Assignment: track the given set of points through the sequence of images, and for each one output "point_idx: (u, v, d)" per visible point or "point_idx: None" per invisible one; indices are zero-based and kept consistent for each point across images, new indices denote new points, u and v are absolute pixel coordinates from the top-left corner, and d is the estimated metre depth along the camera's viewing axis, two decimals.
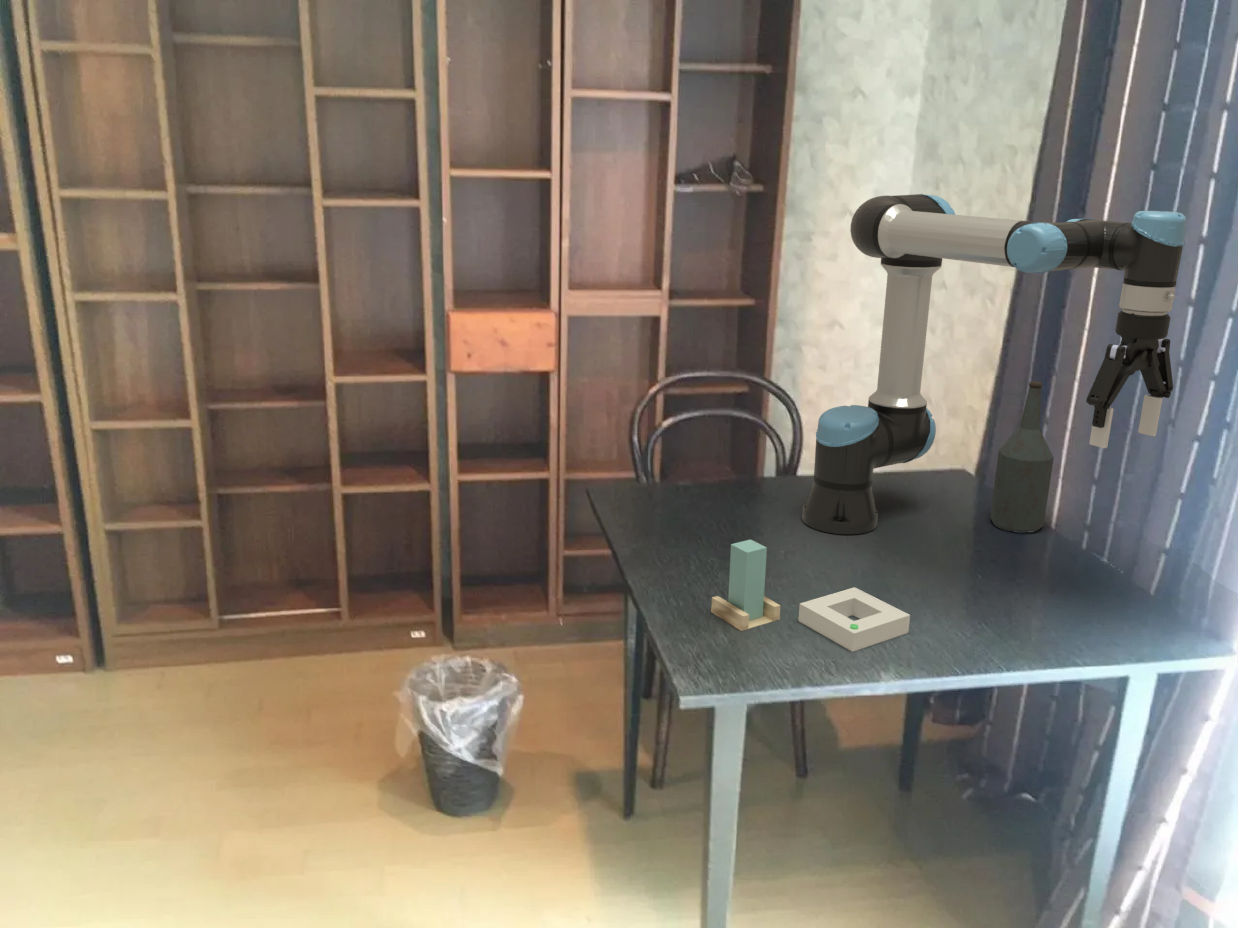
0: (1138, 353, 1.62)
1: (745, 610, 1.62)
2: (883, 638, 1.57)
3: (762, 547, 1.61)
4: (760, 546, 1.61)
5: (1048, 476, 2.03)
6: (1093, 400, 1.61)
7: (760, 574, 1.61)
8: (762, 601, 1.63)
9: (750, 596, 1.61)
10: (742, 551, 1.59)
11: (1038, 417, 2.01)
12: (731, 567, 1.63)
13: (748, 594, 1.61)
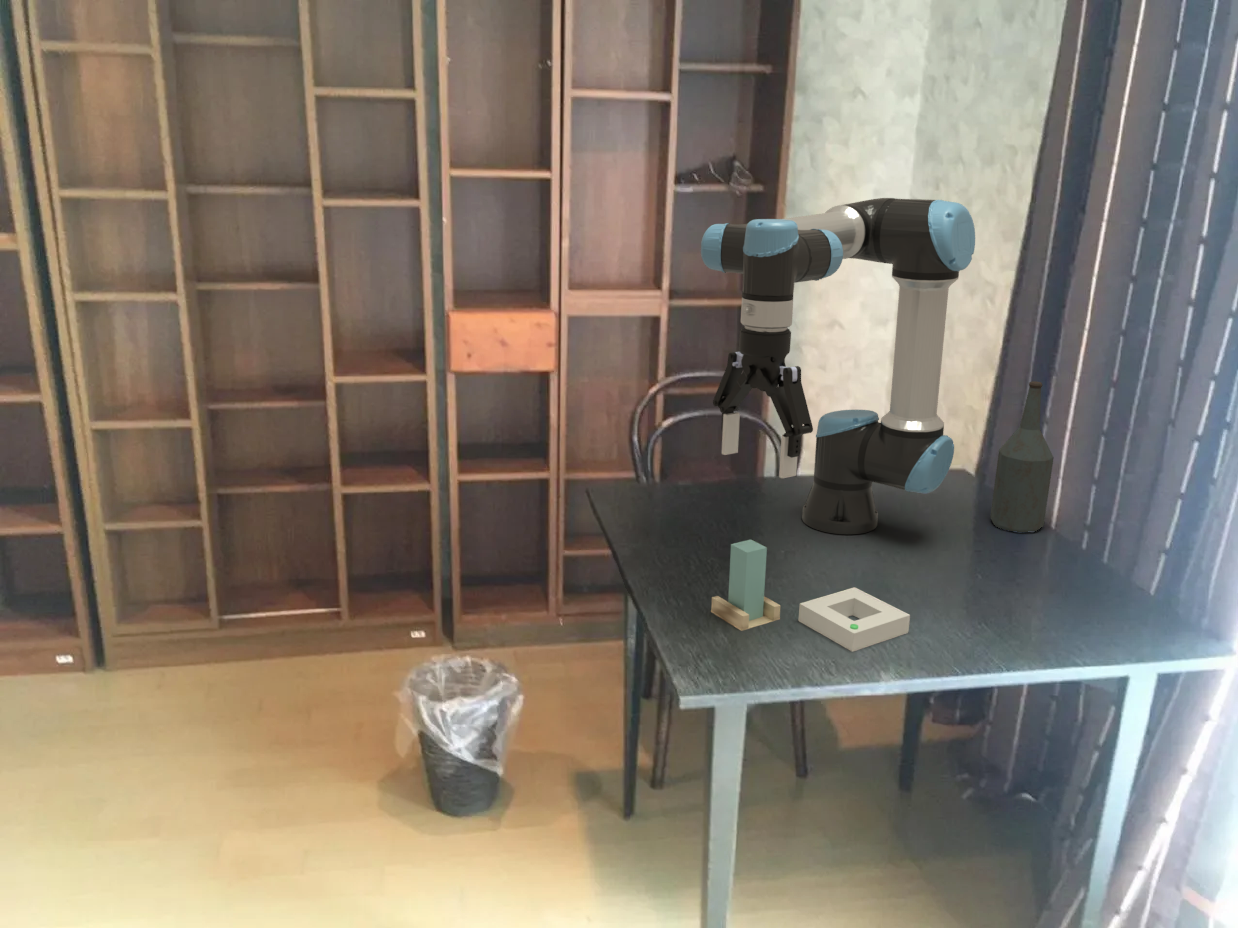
0: None
1: (745, 610, 1.62)
2: (883, 638, 1.57)
3: (762, 547, 1.61)
4: (760, 546, 1.61)
5: (1048, 476, 2.03)
6: None
7: (760, 574, 1.61)
8: (762, 601, 1.63)
9: (750, 596, 1.61)
10: (742, 551, 1.59)
11: (1038, 417, 2.01)
12: (731, 567, 1.63)
13: (748, 594, 1.61)
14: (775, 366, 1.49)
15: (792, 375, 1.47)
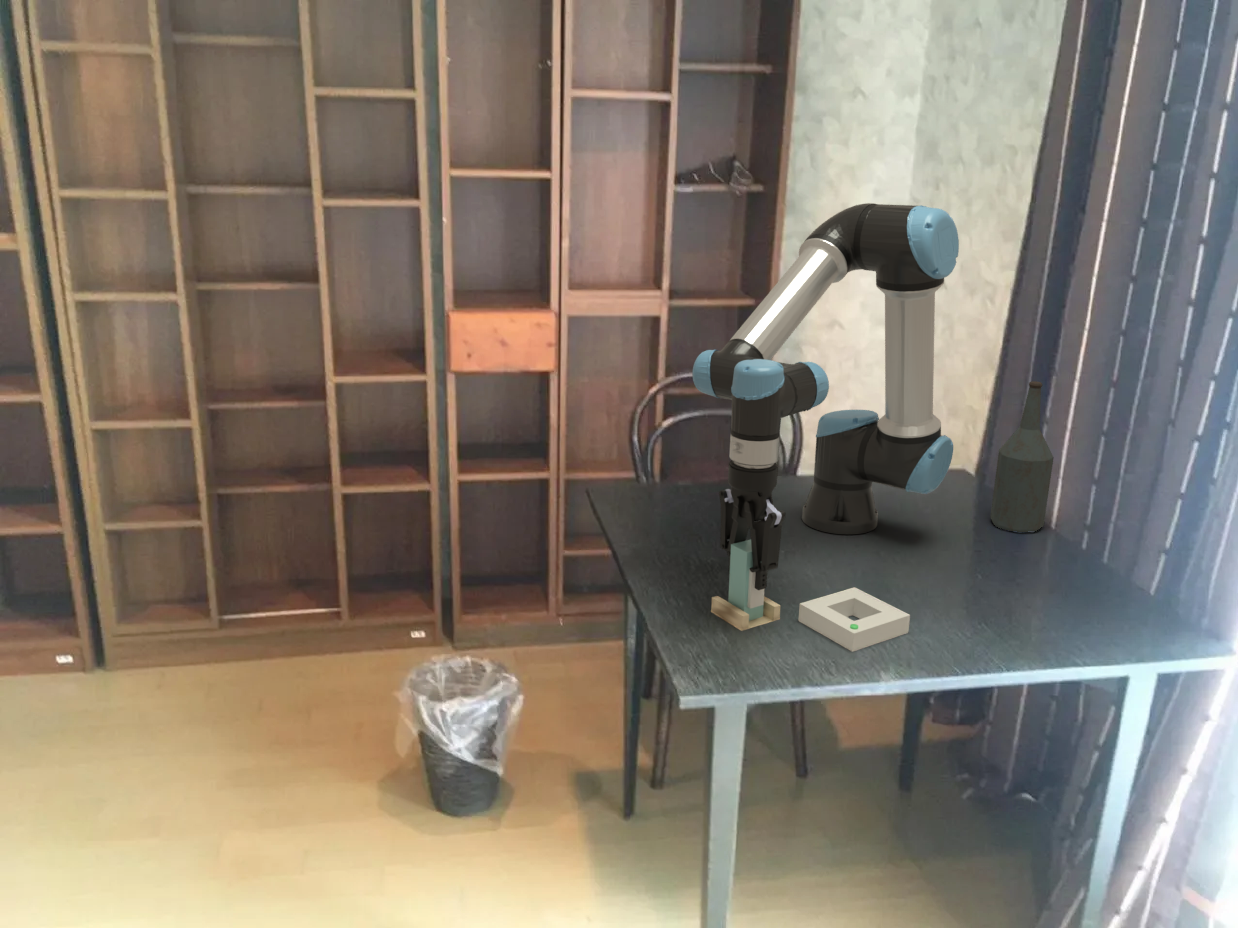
0: None
1: (745, 610, 1.62)
2: (883, 638, 1.57)
3: None
4: None
5: (1048, 476, 2.03)
6: None
7: None
8: None
9: None
10: (742, 551, 1.59)
11: (1038, 417, 2.01)
12: (731, 567, 1.63)
13: None
14: (763, 503, 1.55)
15: (775, 521, 1.54)
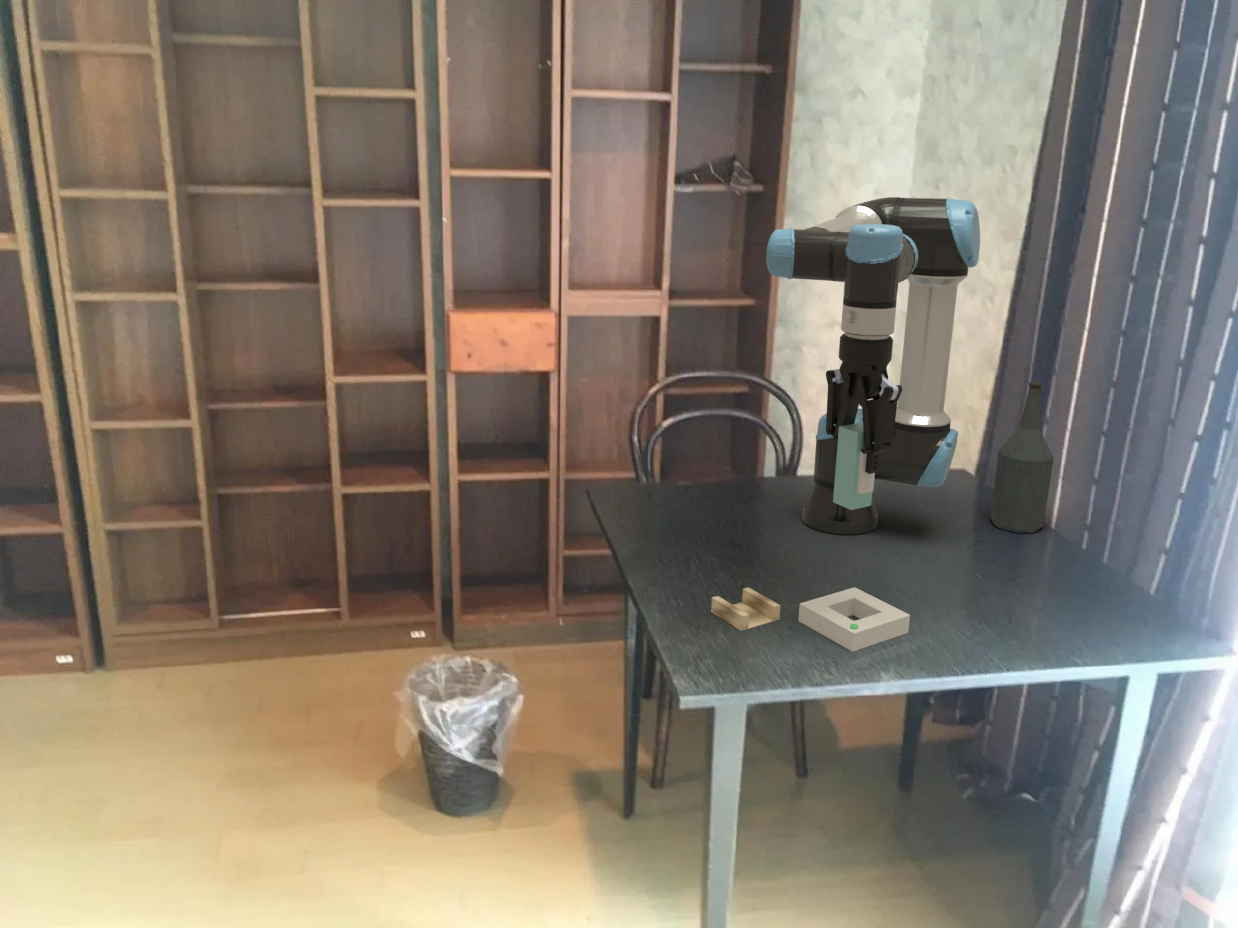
0: None
1: (854, 496, 1.52)
2: (883, 638, 1.57)
3: None
4: None
5: (1048, 476, 2.03)
6: None
7: None
8: None
9: None
10: (852, 432, 1.50)
11: (1038, 417, 2.01)
12: (838, 451, 1.53)
13: (857, 479, 1.52)
14: (878, 377, 1.45)
15: (892, 396, 1.44)
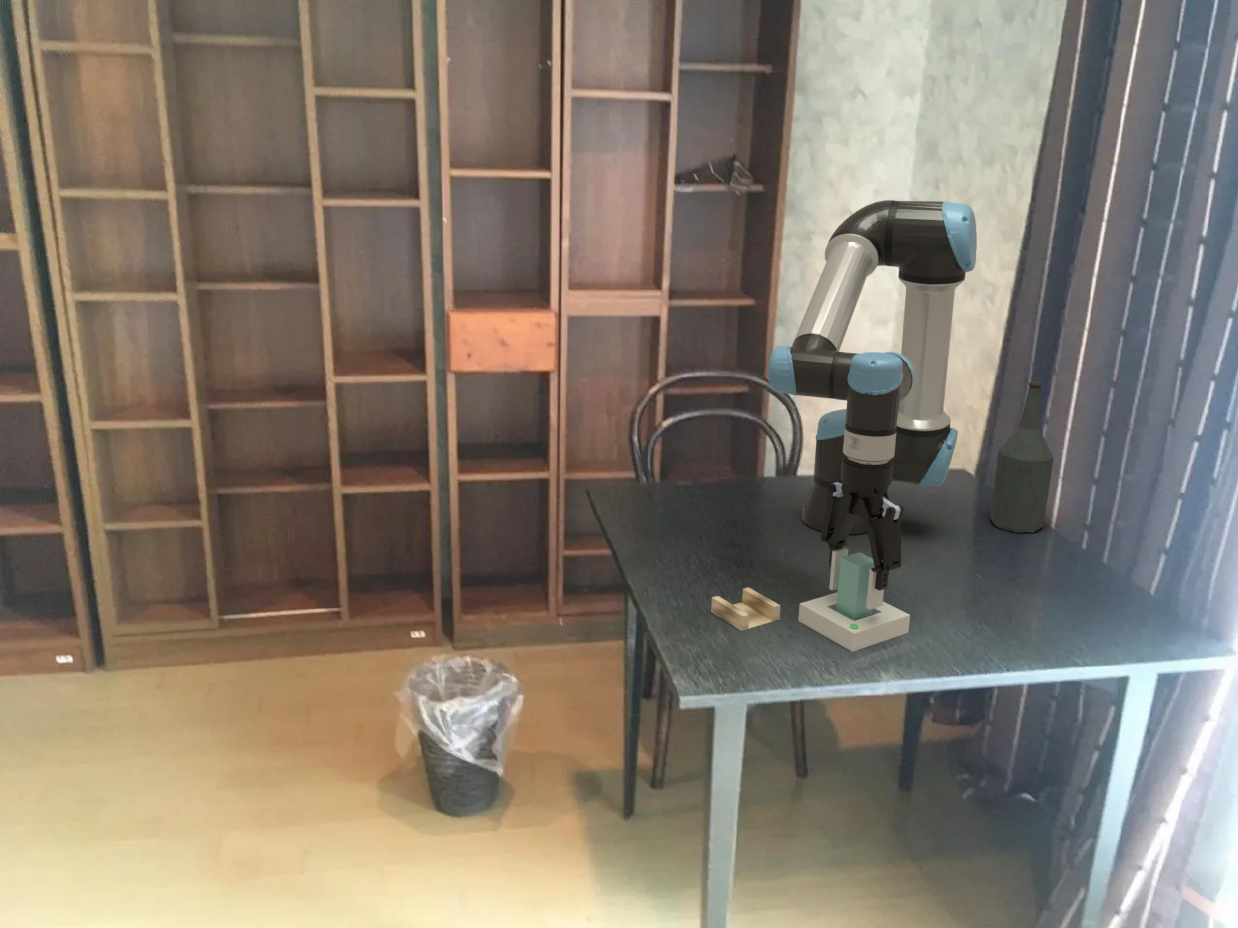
0: None
1: None
2: (883, 638, 1.57)
3: None
4: (871, 560, 1.57)
5: (1048, 476, 2.03)
6: None
7: None
8: (871, 615, 1.60)
9: (860, 610, 1.58)
10: (854, 565, 1.56)
11: (1038, 417, 2.01)
12: (840, 580, 1.59)
13: (858, 608, 1.58)
14: (879, 499, 1.51)
15: (894, 515, 1.49)
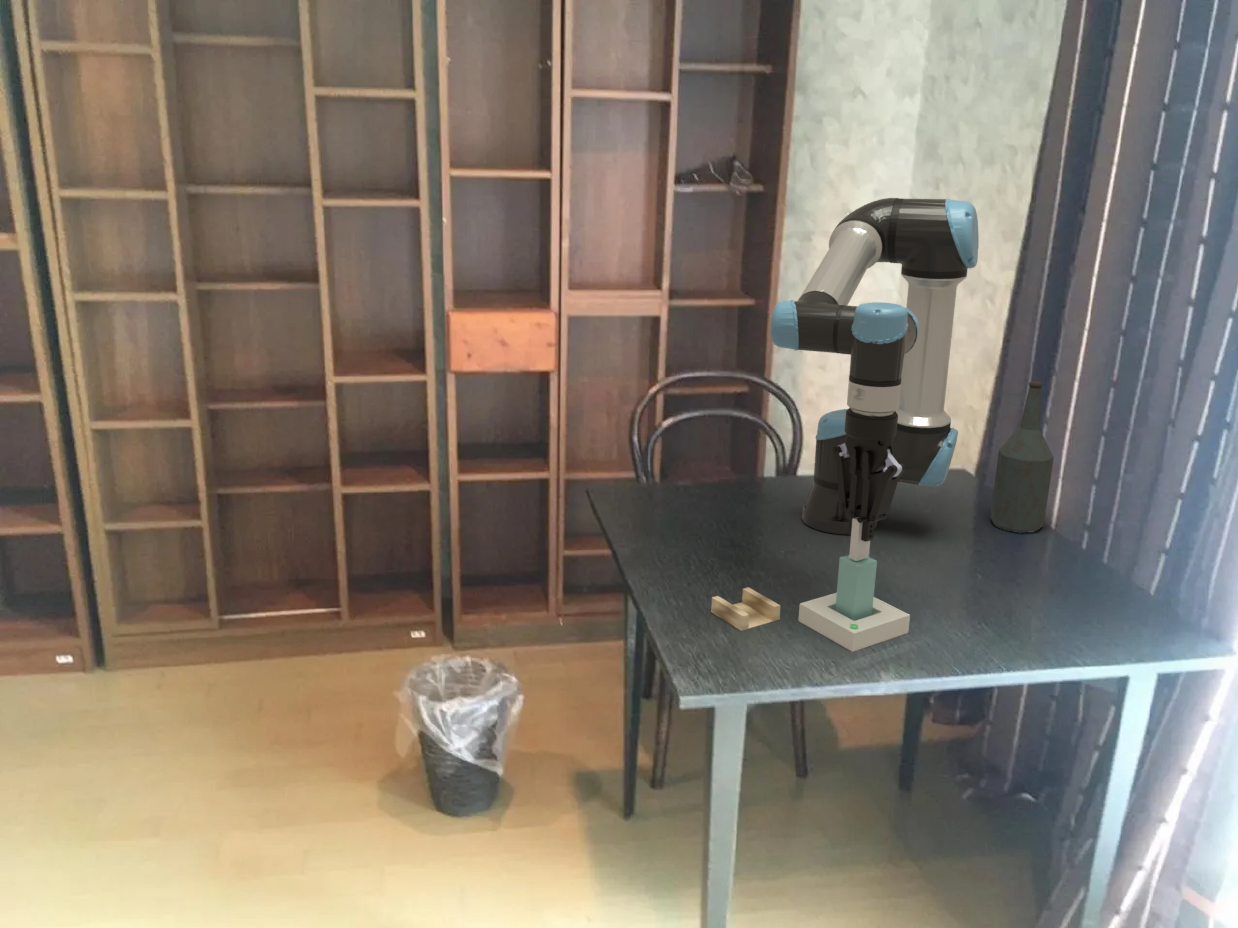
0: None
1: None
2: (883, 638, 1.57)
3: (872, 560, 1.57)
4: (870, 559, 1.58)
5: (1048, 476, 2.03)
6: None
7: (869, 588, 1.58)
8: (870, 615, 1.60)
9: (859, 610, 1.58)
10: (853, 565, 1.56)
11: (1038, 417, 2.01)
12: (839, 581, 1.59)
13: (857, 608, 1.58)
14: (884, 454, 1.49)
15: (895, 474, 1.48)
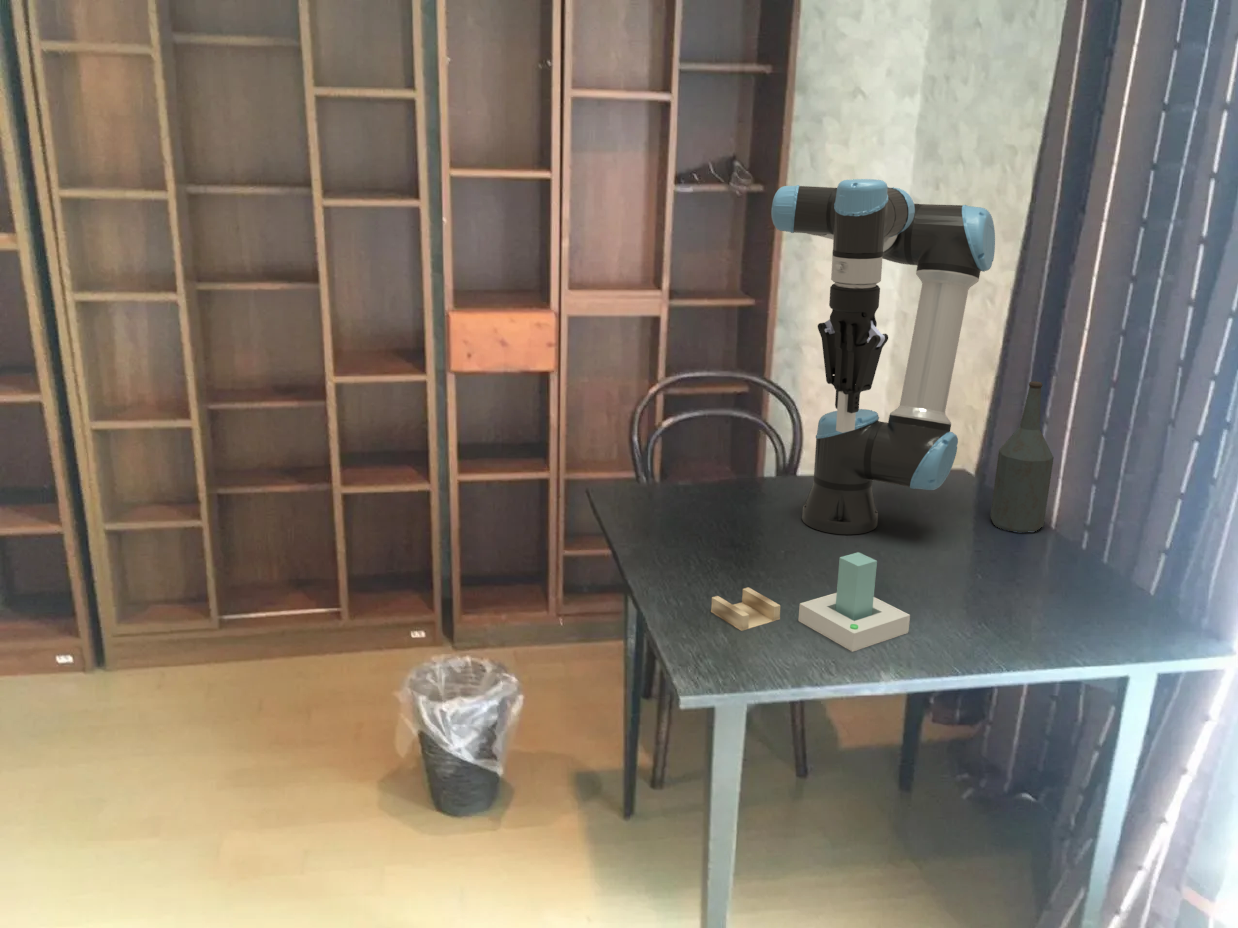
0: None
1: None
2: (883, 638, 1.57)
3: (872, 560, 1.57)
4: (870, 559, 1.58)
5: (1048, 476, 2.03)
6: None
7: (869, 588, 1.58)
8: (870, 615, 1.60)
9: (859, 610, 1.58)
10: (853, 565, 1.56)
11: (1038, 417, 2.01)
12: (839, 581, 1.59)
13: (857, 608, 1.58)
14: (867, 325, 1.55)
15: (878, 344, 1.55)
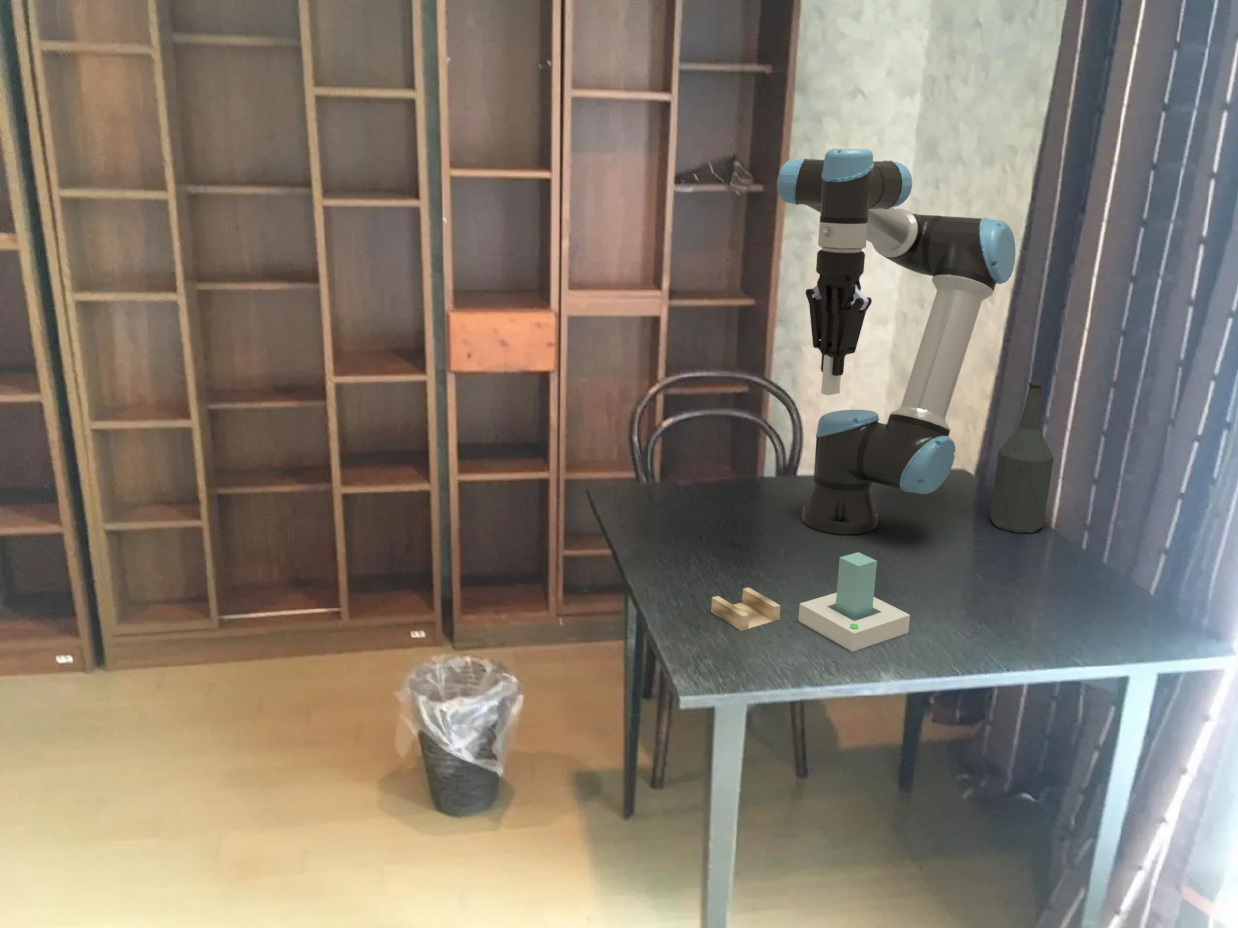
0: None
1: None
2: (883, 638, 1.57)
3: (872, 560, 1.57)
4: (870, 559, 1.58)
5: (1048, 476, 2.03)
6: None
7: (869, 588, 1.58)
8: (870, 615, 1.60)
9: (859, 610, 1.58)
10: (853, 565, 1.56)
11: (1038, 417, 2.01)
12: (839, 581, 1.59)
13: (857, 608, 1.58)
14: (852, 288, 1.61)
15: (861, 306, 1.61)
